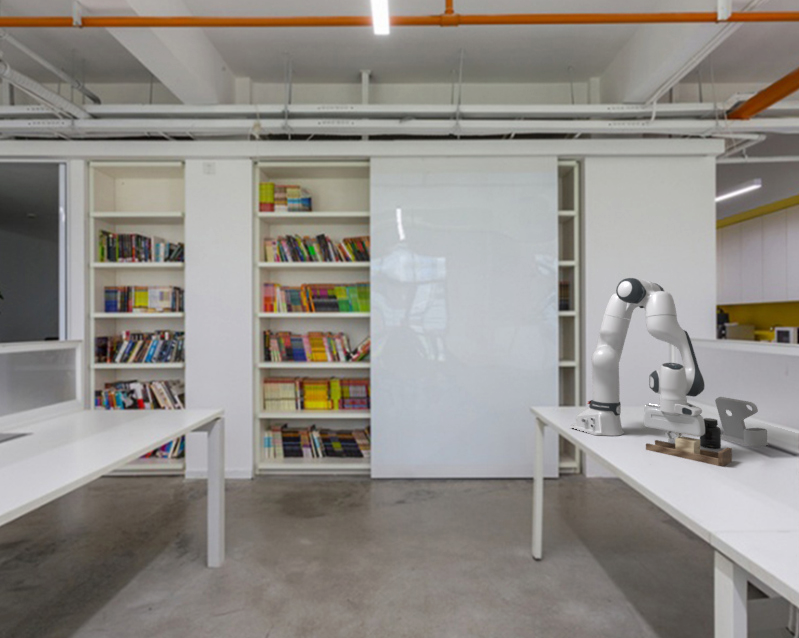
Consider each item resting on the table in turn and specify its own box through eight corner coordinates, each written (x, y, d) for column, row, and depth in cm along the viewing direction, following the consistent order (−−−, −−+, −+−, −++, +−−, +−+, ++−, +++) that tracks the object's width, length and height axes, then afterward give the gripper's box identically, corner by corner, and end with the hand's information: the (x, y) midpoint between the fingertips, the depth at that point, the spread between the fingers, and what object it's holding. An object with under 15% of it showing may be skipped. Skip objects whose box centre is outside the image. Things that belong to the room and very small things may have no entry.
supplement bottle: (699, 446, 182) (699, 416, 181) (719, 448, 178) (719, 418, 178) (700, 450, 176) (700, 420, 176) (721, 453, 172) (721, 422, 172)
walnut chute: (645, 452, 173) (645, 437, 173) (656, 448, 178) (656, 433, 178) (722, 470, 153) (722, 452, 153) (731, 465, 158) (731, 448, 158)
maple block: (675, 455, 166) (675, 438, 166) (682, 452, 169) (682, 436, 169) (693, 459, 161) (693, 442, 161) (700, 455, 165) (700, 439, 165)
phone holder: (771, 445, 183) (771, 401, 183) (753, 447, 180) (753, 402, 180) (728, 435, 199) (728, 394, 199) (711, 436, 196) (711, 395, 196)
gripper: (640, 403, 175) (640, 438, 175) (700, 412, 159) (700, 451, 159) (647, 401, 179) (648, 436, 179) (706, 409, 163) (707, 447, 163)
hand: (673, 443), depth 169 cm, fingers closed
